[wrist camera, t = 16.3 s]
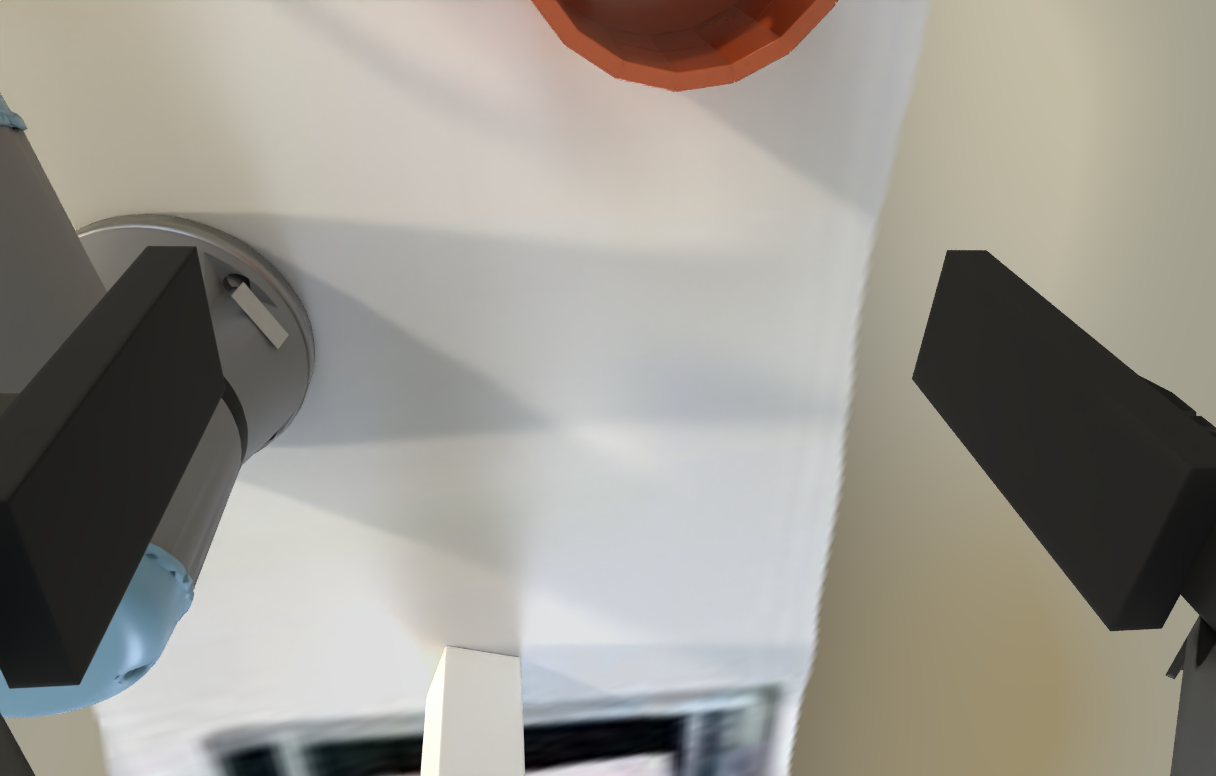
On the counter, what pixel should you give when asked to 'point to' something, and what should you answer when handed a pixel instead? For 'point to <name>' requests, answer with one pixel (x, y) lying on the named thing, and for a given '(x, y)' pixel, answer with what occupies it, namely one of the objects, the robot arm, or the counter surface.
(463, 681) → the milk
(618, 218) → the counter surface
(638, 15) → the pot
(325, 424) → the counter surface
